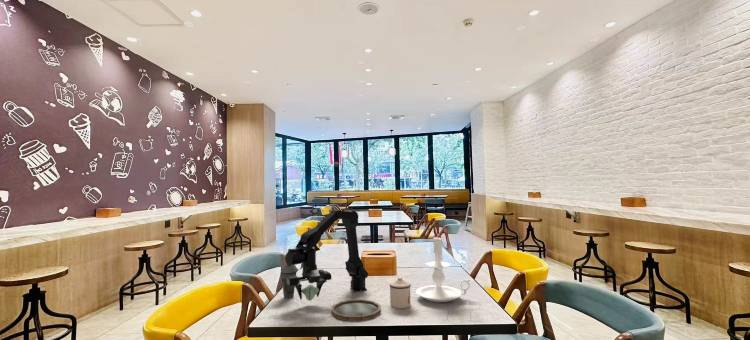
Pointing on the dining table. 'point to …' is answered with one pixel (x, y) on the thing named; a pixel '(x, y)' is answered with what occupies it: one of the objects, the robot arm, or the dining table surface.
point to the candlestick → (440, 279)
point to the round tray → (356, 310)
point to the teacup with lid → (400, 293)
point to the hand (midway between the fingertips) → (309, 297)
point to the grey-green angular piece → (310, 292)
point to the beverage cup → (286, 272)
